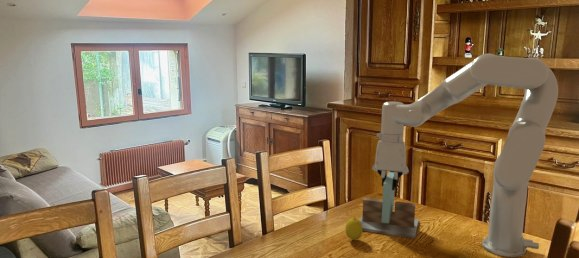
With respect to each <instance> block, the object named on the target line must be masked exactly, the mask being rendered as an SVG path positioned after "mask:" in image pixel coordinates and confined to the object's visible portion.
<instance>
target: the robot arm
mask: <svg viewBox="0 0 579 258" xmlns="http://www.w3.org/2000/svg"><path fill="white" fill-rule="evenodd" d="M487 85H490V86H496V87H503V88H505V87H506V88H514V89H521V90H524V94H523V95H524V96H523V98H522V101H521V104H520V105H519V110H518V112H517V114H516V116H515V118H514V121H513V122H512V124H511V126H510V127H509V129H508V133H507V136H506V139H505V142H504V143H503V146H502V150H501V152H500V154H499V155H498V156H497V158H496V159H495V162H494V166H493V172H492V173H493V174H492V175H493V182H492V192H491V203H490V212H489V213H490V214H489V224H488V234H487V237H485V238H483V239H482V240H481V245H482V247H483V248H484V249H485V250H486V251H488V252H491V253H492V254H494V255H498V256H502V257H507V258H518V257H523V256H524V255H525V254H527V248H529V249H535V250H539V248H540V247H539V246H540V245H539V244H540V243H539V242H534V240H533V239H529V238H527V239H526V238H525V237H523V232H524V231H523V230H524V223H525V214H526V213H525V212H526V206H527V196H528V185H529V182H530V179H531V178H532V175H533V174H534V171H535V169H536V167H537V165H538V163H539V161H540V158H541V155H542V153H543V152H544V148H545V145H546V130H547V127H548V125H549V122H550V120H551V117H552V115H553V112H554V110H555V107H556V105H557V102H558V97H559V96H558V95H559V84H558V80H557V78H556V75H555V74H554V72H553V71H552V69H551V68H550V67H549V66H548V65H547V63H546V62H544V61H543V60H542V59H540V58H537V57H518V56H517V57H516V56H515V57H514V56H505V55H503V56H502V55H497V54H493V53H483V54H481V55H479V56H477V57H476V58H474V59H473V60H472V61H470V62H469V63H467V64H466V65H464V66H463V67H462V68H460V69H458V70H457V71H456V72H454V73H452V74H451V75H450V76H448V77H446V78H445V79H444V80H442V81H441V83H439V85H438V86H436V87H435V88H433V89H432V90H431V91H429V92H427V93H426V94H425V95H424V96H422V97H420V98H419V99H417V100H416V101H414V102H412V103H410V104H404V103H403V102H401V101H395V100H394V101H385V102H384V103H383V104H382V107H381V125H380V126H381V128H380V132H379V133H378V132H377V133H376V138H379V140H378V141H377V145H376V149H375V151H376V152H375V160H374V161H375V162H374V164H373V165H372V168H371V170H373V171H374V172H377V173H378V174H379V176H380V177H381V186H382V187H383V183H384V181H385V179H386V177H387V172H393V173H394V177H393V184H392V190H394V189H396V188H397V186H398V179H399V178H400V177H401V176H403V175H407V174H409V168H408V166H407V148H406V142H405V141H404V133H405V131H404V130H405V127H404V126H407V127H413V128H414V127H415V128H417V127H419V126H421V125H423V124H424V123H425V122H426V121H428V120H429V119H431V118H432V117H434V116H436V115H437V114H438V113H441V112H442V111H443V110H445V109H447V108H449V107H450V106H453V105H456V104H459V103H460V102H462V101H463V100H466V99H467V98H468V97H470V96H472V95H473V94H475V93H476V92H478V91H479V90H481V89H483V88H484V87H486V86H487Z"/></svg>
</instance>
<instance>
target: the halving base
mask: <svg viewBox="0 0 579 258" xmlns="http://www.w3.org/2000/svg"><path fill="white" fill-rule="evenodd" d="M382 203H383V199H381V198H380V199H377V198H371V197H364V198H363V199H362V214H361V217H360V219H358V220H359V221H360V222H361V224H362V232H367V233H368V232H369V233H374V234H383V235H390V236H395V237H401V238H402V237H403V238H410V239H416V237H417V231H418V227H419V226H418V224H419V218H416V203H413V202H405V201H404V202H403V201H394V210H393V212H391V216H390V221H389V223H382Z"/></svg>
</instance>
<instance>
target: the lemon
mask: <svg viewBox="0 0 579 258" xmlns="http://www.w3.org/2000/svg"><path fill="white" fill-rule="evenodd" d="M359 220H360V219H359V218H357V217H352V218H350V219H349V220H347V222H346V224H345V234H346V236H347V237H348V238H349V239H351V240H352V241H355V240H357V239H360V238H361V237H362V234H363V231H362V224H361V222H360V221H359Z"/></svg>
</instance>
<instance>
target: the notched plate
mask: <svg viewBox="0 0 579 258" xmlns="http://www.w3.org/2000/svg"><path fill="white" fill-rule="evenodd" d="M386 176H387V177H386V179H385V181H384V183H383V186H382V200H383V203H382V223H389V221H390V216H391V212H394V210H395V193H396V192H395V189H396V188H395V189H394V190H392V184H393V177H394V171H388V174H386Z"/></svg>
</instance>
